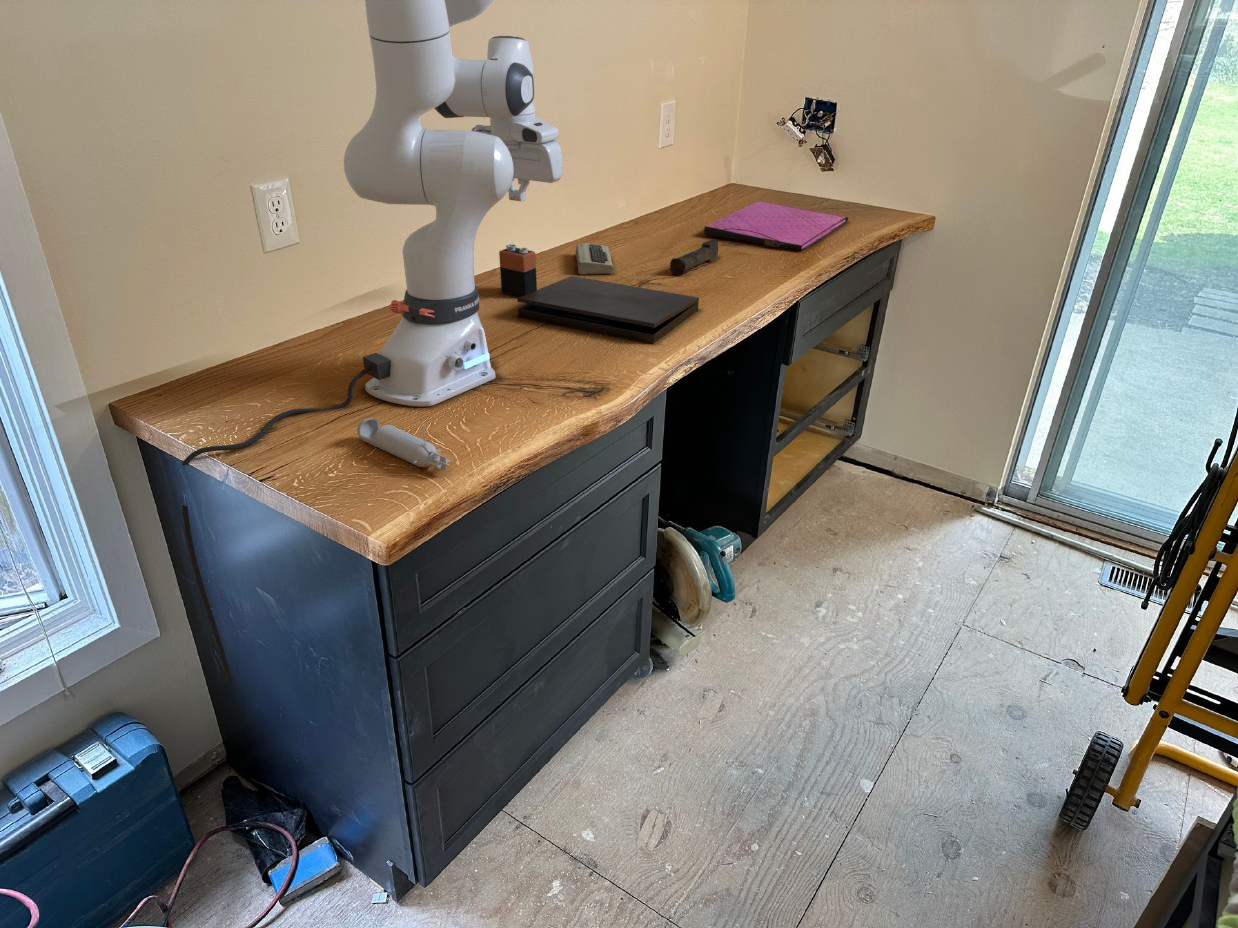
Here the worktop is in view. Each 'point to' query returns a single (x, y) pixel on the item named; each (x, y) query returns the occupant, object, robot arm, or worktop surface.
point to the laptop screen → (610, 301)
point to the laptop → (605, 322)
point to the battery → (517, 270)
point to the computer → (593, 259)
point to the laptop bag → (775, 226)
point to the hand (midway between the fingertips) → (517, 200)
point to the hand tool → (695, 258)
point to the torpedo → (401, 444)
